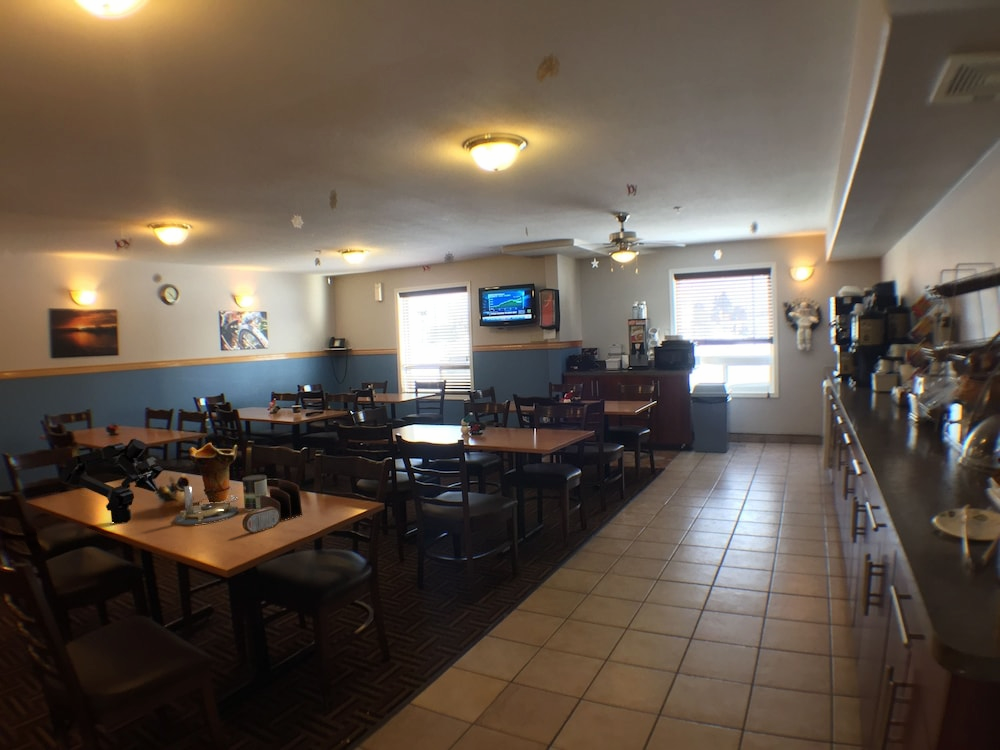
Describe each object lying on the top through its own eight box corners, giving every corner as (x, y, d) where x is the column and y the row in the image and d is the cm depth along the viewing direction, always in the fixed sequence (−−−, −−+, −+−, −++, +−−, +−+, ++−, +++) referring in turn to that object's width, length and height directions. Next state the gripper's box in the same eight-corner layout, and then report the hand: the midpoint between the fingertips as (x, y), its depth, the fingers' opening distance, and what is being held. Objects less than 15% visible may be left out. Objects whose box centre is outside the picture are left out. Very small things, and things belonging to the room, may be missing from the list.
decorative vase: (227, 506, 274) (220, 446, 272) (183, 508, 278) (175, 449, 277) (253, 494, 294) (247, 438, 293) (212, 496, 298) (205, 441, 297)
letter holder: (282, 508, 268) (280, 477, 267) (302, 516, 254) (300, 483, 253) (260, 513, 261) (257, 482, 260) (280, 522, 247) (277, 488, 246)
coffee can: (243, 512, 264) (241, 481, 263) (245, 506, 273) (242, 476, 273) (268, 508, 267) (266, 478, 267) (268, 503, 277) (266, 473, 276)
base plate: (170, 529, 244) (170, 524, 244) (179, 513, 267) (178, 509, 267) (236, 519, 253) (236, 515, 253) (239, 505, 276) (239, 501, 276)
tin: (278, 524, 244) (276, 503, 243) (282, 525, 242) (280, 505, 241) (242, 534, 232) (241, 513, 232) (246, 536, 230) (245, 514, 230)
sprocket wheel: (215, 503, 274) (213, 475, 273) (242, 508, 263) (240, 479, 262) (170, 515, 257) (167, 486, 256) (197, 521, 246) (194, 490, 245)
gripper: (124, 456, 245) (151, 482, 244) (157, 448, 263) (182, 472, 262) (109, 475, 247) (135, 501, 246) (143, 466, 265) (167, 490, 264)
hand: (156, 490), depth 254 cm, fingers closed
